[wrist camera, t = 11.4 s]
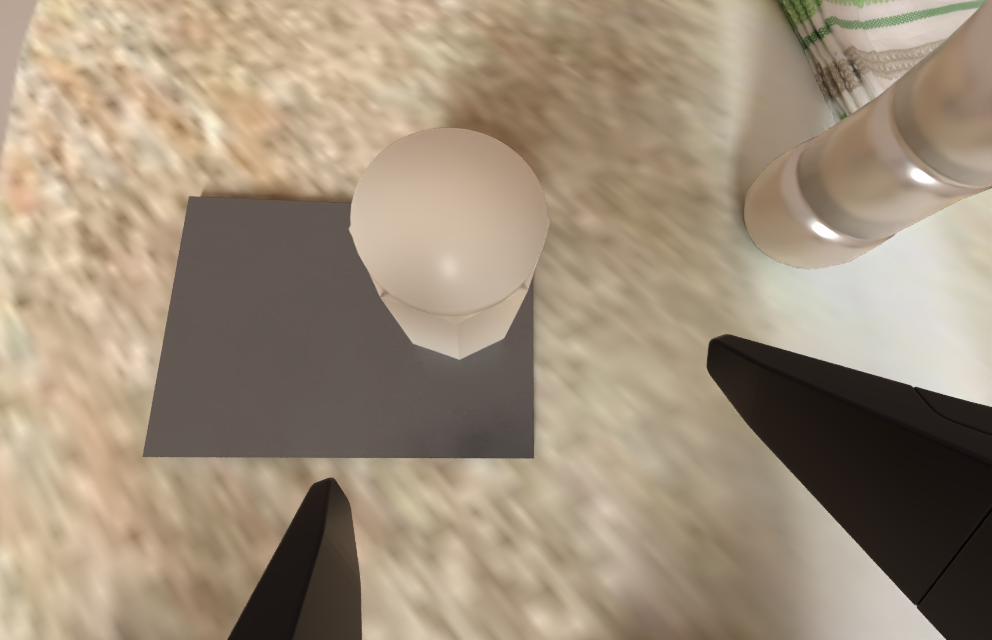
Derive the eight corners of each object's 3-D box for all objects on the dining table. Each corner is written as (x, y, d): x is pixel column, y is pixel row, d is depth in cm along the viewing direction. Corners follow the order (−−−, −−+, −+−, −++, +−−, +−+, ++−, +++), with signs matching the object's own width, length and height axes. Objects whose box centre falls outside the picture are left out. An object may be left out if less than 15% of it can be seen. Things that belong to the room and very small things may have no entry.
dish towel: (922, -112, 34) (974, -172, 30) (1079, 147, 29) (1160, 111, 26) (723, -82, 31) (755, -143, 28) (860, 203, 27) (917, 172, 24)
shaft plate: (529, 217, 25) (543, 176, 20) (531, 456, 22) (547, 466, 18) (198, 203, 23) (140, 157, 19) (154, 455, 21) (76, 465, 16)
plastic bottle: (754, 157, 27) (1549, -551, 7) (853, 216, 26) (1981, -364, 7) (708, 238, 25) (1540, -368, 6) (811, 302, 25) (2086, -117, 5)
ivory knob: (528, 264, 23) (571, 163, 14) (493, 371, 22) (513, 337, 13) (422, 227, 23) (394, 102, 14) (379, 332, 22) (317, 270, 13)
